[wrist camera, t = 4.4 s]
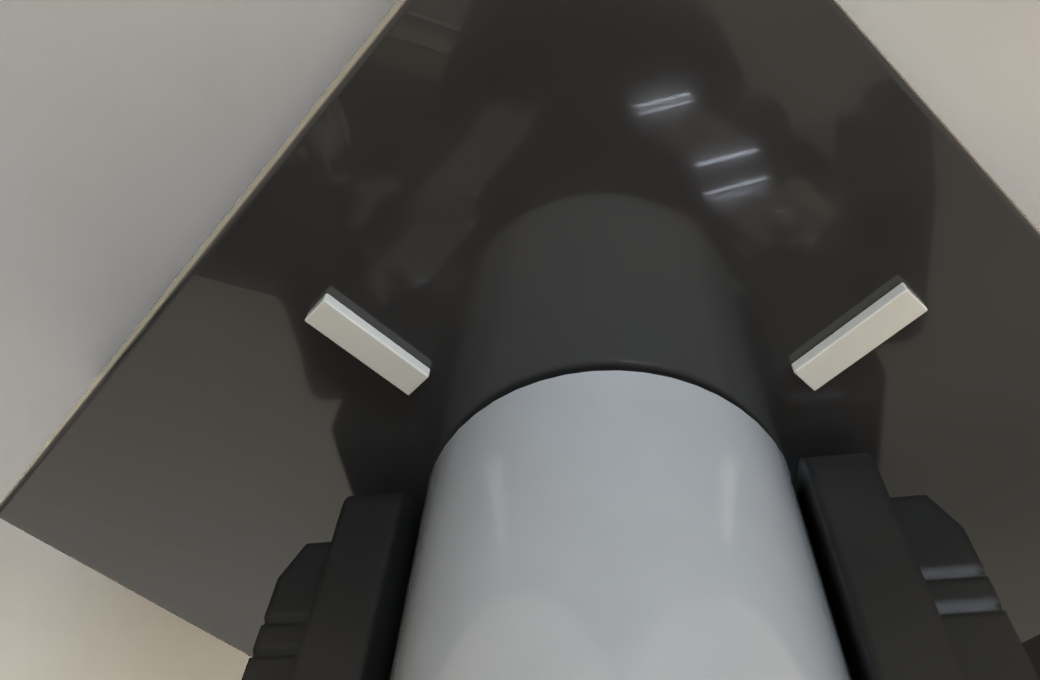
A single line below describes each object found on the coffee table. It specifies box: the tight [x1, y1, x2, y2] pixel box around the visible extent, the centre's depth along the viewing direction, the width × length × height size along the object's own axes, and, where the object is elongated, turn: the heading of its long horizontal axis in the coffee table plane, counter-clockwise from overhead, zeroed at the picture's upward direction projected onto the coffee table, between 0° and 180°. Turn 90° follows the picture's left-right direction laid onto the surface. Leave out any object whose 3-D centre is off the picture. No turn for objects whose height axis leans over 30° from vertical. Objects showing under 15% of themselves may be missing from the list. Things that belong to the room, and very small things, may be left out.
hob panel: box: [0, 0, 1040, 657], centre depth 12 cm, size 11×11×3 cm
